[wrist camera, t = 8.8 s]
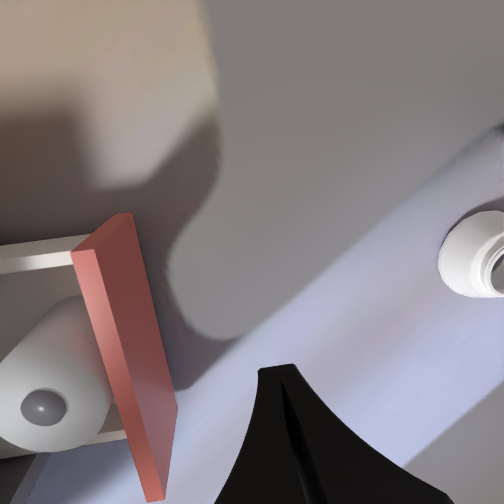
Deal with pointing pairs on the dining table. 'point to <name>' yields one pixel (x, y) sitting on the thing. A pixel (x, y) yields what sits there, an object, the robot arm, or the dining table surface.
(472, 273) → the white jar
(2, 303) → the red drawer
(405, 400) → the dining table surface
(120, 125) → the dining table surface
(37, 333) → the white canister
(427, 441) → the dining table surface
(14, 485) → the housing
